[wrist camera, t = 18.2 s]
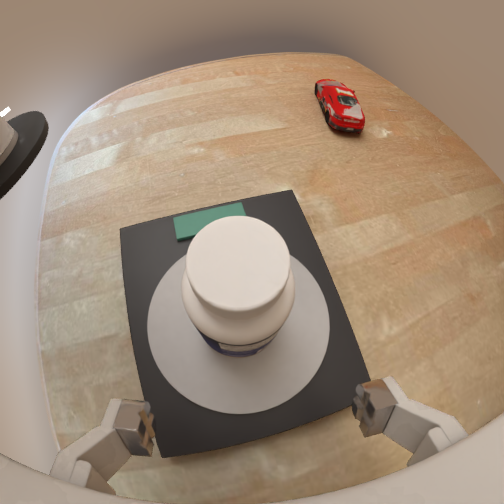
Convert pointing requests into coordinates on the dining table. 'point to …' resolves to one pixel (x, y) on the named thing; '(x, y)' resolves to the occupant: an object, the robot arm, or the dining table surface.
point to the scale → (227, 368)
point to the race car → (340, 106)
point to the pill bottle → (238, 285)
